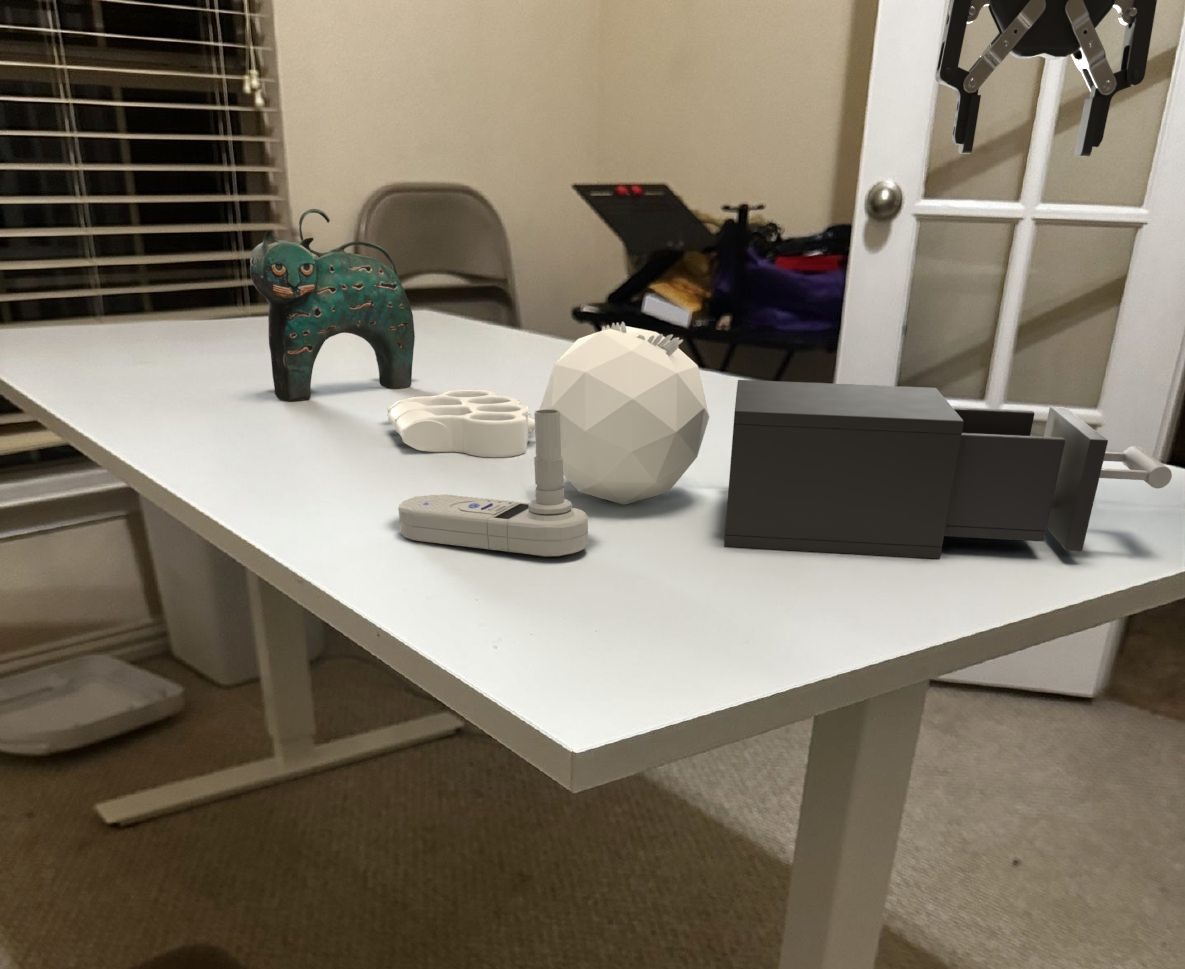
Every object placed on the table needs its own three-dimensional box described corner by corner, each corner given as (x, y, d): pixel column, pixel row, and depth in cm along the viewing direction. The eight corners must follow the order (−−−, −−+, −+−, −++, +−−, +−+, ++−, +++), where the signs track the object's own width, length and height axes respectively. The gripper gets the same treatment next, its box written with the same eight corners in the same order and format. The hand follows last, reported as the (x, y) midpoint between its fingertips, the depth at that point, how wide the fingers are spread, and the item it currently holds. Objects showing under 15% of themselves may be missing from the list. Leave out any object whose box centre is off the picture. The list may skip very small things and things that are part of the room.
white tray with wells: (384, 424, 121) (517, 419, 125) (409, 461, 106) (559, 455, 110) (382, 391, 120) (516, 387, 123) (407, 425, 104) (559, 419, 108)
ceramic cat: (280, 404, 130) (259, 209, 120) (254, 396, 134) (231, 207, 124) (424, 388, 141) (415, 209, 132) (396, 381, 146) (385, 207, 136)
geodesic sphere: (776, 424, 95) (688, 270, 93) (715, 456, 84) (614, 282, 81) (642, 512, 104) (559, 374, 102) (571, 552, 93) (477, 398, 90)
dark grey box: (917, 509, 95) (936, 387, 90) (940, 558, 83) (964, 420, 78) (728, 500, 96) (737, 379, 91) (724, 546, 84) (734, 410, 79)
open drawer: (1117, 510, 92) (1142, 410, 88) (1165, 556, 81) (1196, 444, 77) (863, 497, 94) (876, 399, 90) (877, 540, 83) (893, 430, 79)
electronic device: (414, 395, 84) (598, 407, 79) (425, 525, 89) (599, 544, 83) (374, 407, 80) (566, 421, 74) (388, 543, 84) (569, 565, 79)
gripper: (973, -132, 74) (932, 152, 82) (1201, -133, 72) (1137, 156, 80) (956, -107, 80) (919, 153, 88) (1164, -108, 79) (1108, 157, 87)
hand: (1023, 154), depth 84 cm, fingers open, 8 cm apart
